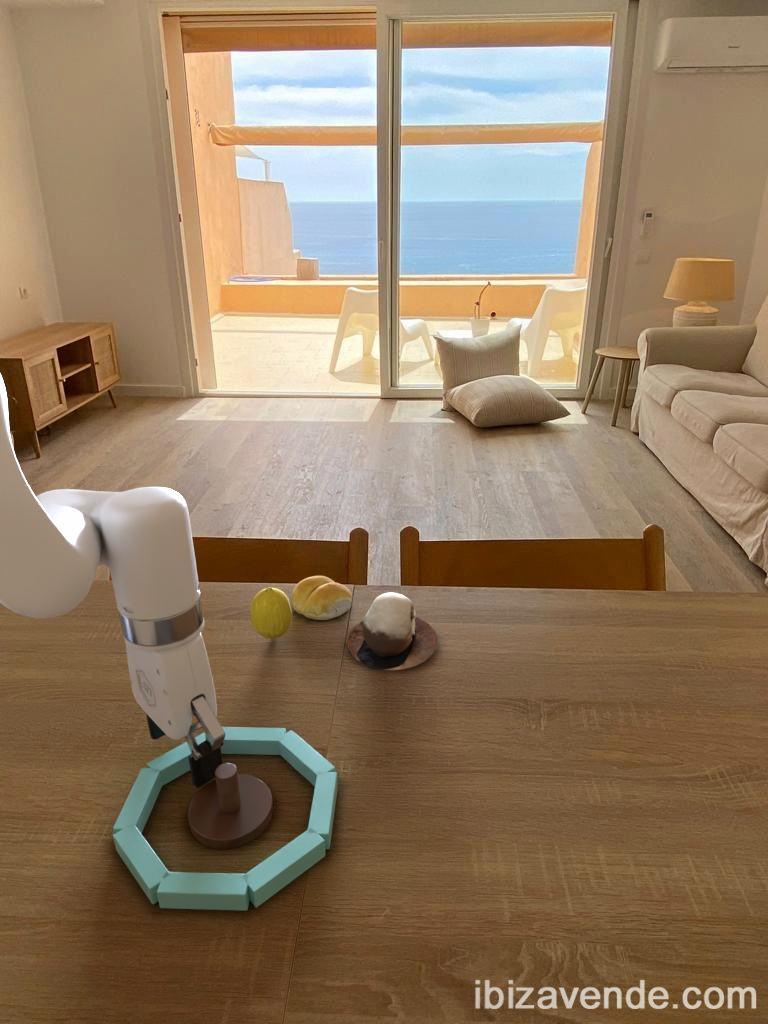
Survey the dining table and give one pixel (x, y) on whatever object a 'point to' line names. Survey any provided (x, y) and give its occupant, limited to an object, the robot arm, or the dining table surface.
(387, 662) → the iced cupcake on saucer
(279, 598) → the lemon
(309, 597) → the bread roll
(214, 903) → the ring
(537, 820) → the dining table surface
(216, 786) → the post
